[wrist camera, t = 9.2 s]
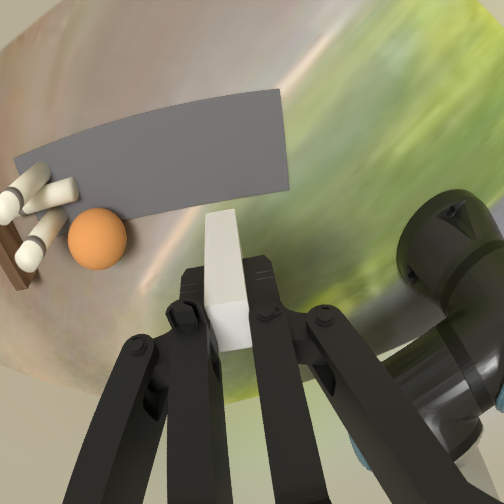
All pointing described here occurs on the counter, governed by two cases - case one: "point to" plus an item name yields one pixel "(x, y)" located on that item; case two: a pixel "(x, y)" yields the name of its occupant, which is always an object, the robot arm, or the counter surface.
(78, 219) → the ball
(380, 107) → the counter surface
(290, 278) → the counter surface
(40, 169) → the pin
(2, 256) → the back wall
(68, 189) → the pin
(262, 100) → the grey flat board
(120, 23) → the counter surface
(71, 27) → the counter surface
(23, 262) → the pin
